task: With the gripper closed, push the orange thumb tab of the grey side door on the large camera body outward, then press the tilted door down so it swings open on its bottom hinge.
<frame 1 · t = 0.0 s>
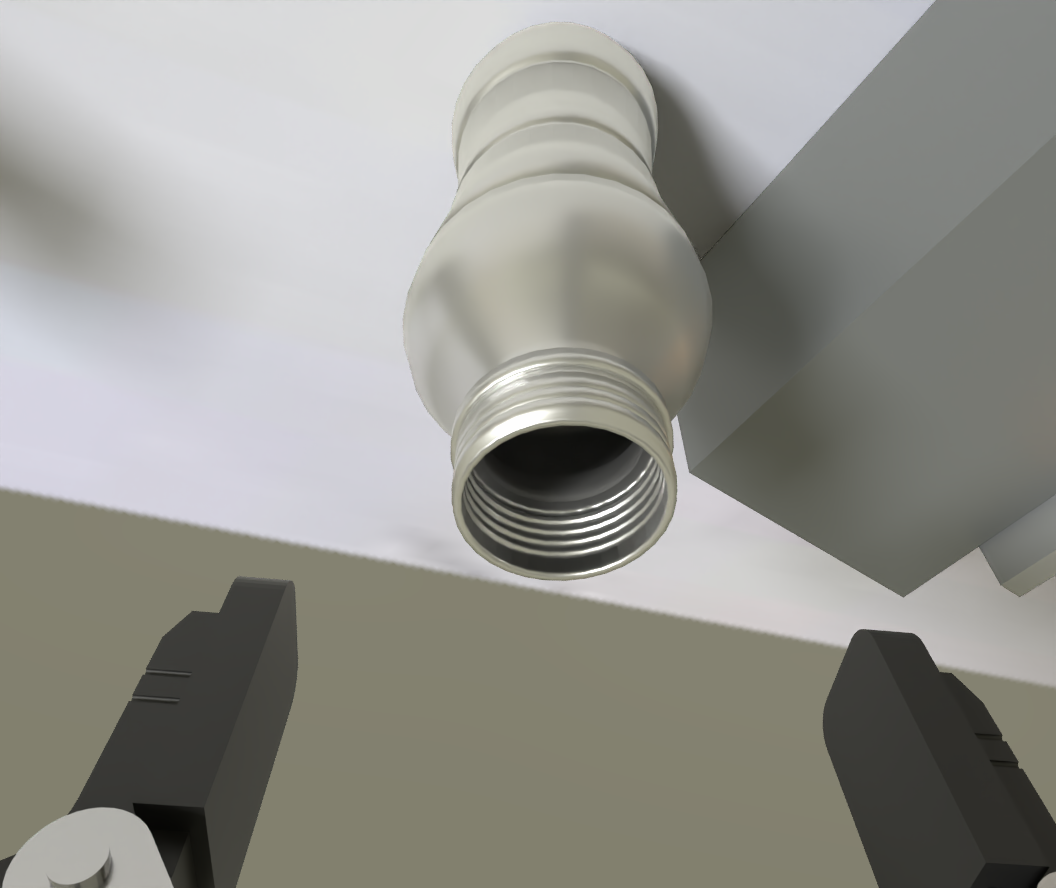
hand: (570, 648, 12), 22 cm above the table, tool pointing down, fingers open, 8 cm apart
camera body: (940, 182, 31), on the table
plastic bottle: (552, 108, 29), on the table
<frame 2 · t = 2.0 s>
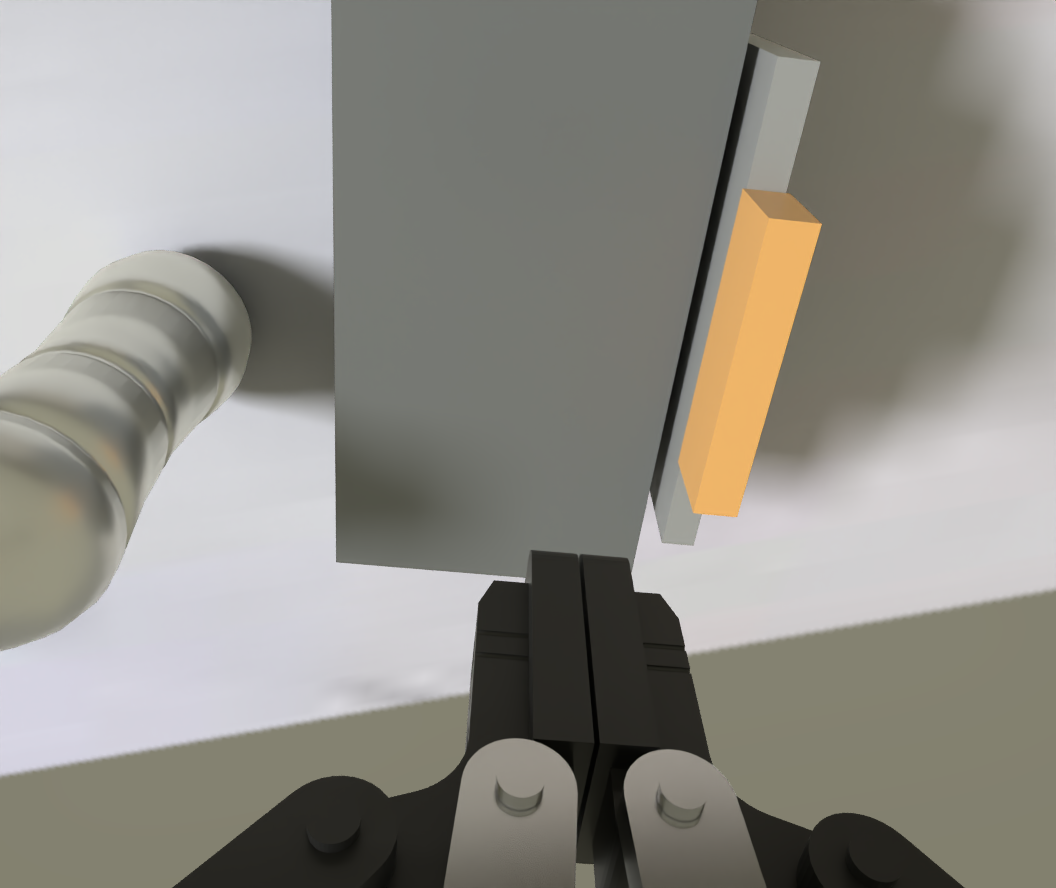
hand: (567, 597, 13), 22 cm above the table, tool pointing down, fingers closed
camera body: (515, 203, 32), on the table
side door: (702, 287, 26), point 7 cm above the table, hinge at 0.0°
plastic bottle: (186, 313, 35), on the table
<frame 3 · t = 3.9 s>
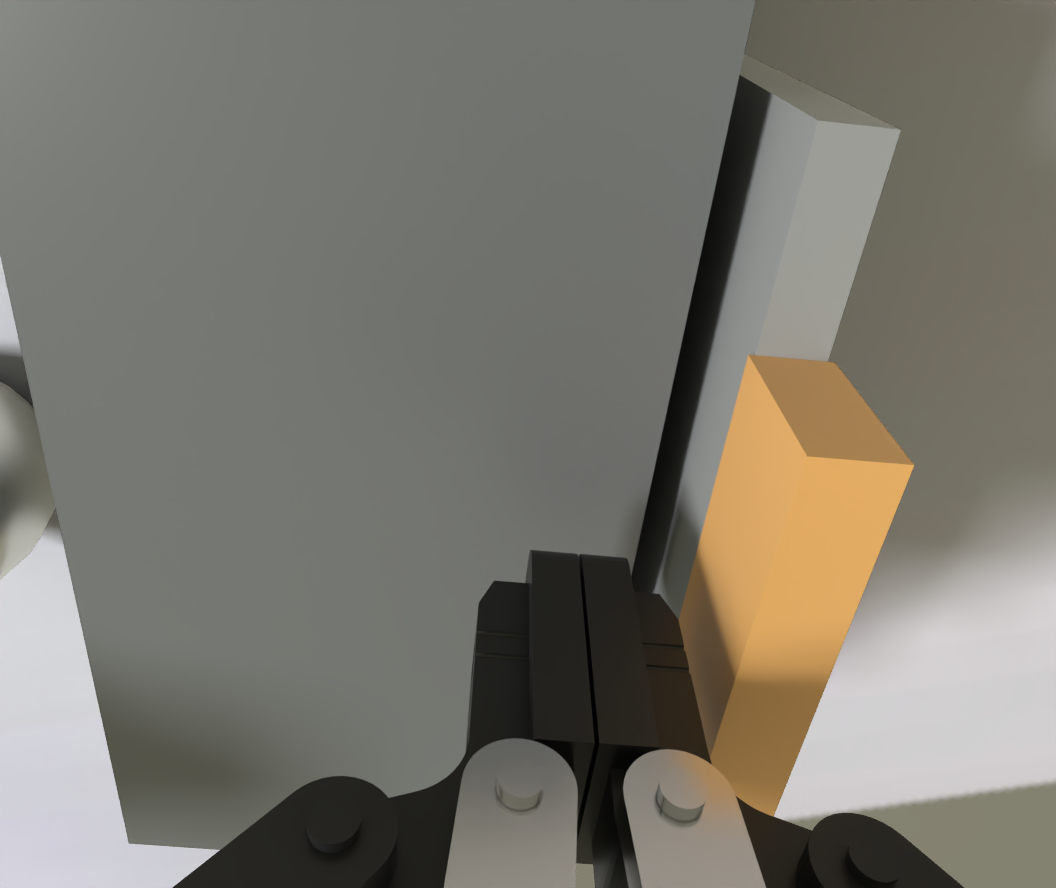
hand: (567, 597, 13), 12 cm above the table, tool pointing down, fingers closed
camera body: (419, 291, 23), on the table
side door: (680, 454, 17), point 7 cm above the table, hinge at 1.6°, touching gripper
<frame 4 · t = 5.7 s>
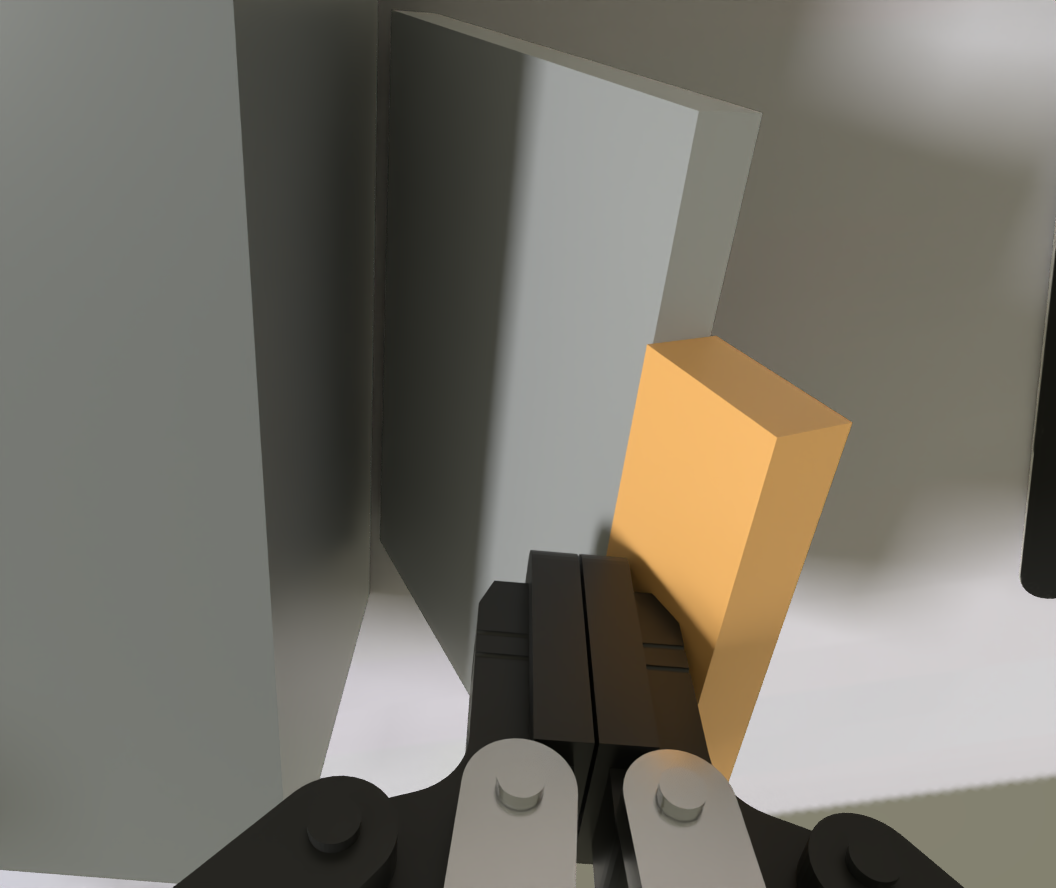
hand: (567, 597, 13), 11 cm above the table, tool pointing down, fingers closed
camera body: (181, 281, 22), on the table
side door: (521, 444, 17), point 7 cm above the table, hinge at 28.6°, touching gripper
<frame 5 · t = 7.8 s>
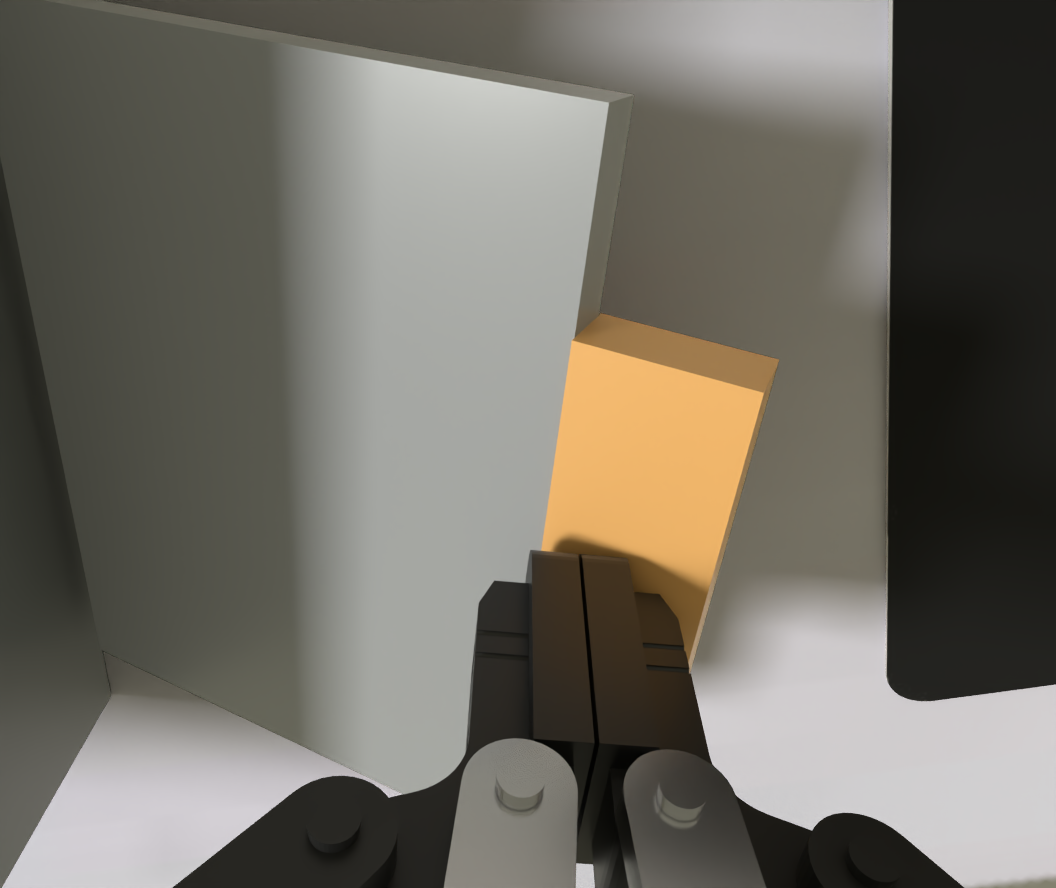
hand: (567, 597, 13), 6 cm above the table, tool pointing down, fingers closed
side door: (346, 478, 15), point 3 cm above the table, hinge at 66.9°, touching gripper
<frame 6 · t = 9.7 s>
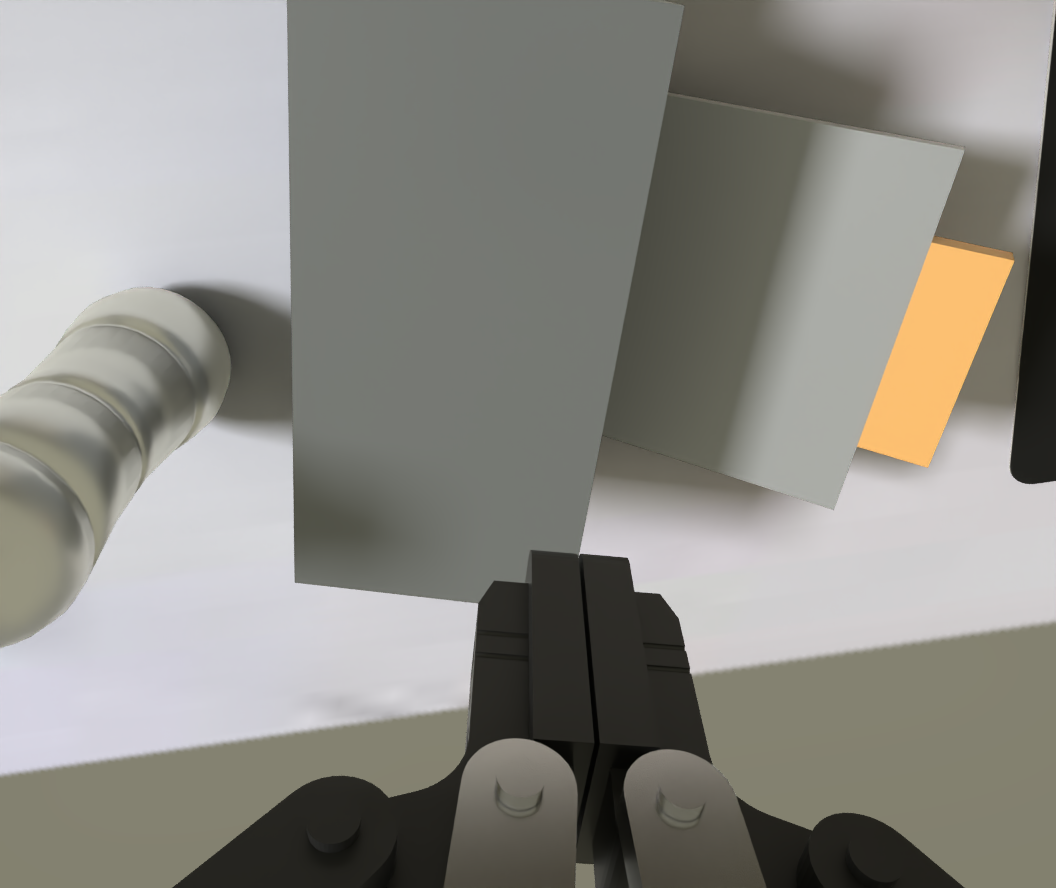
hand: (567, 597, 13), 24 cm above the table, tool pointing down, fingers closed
camera body: (478, 251, 35), on the table
side door: (784, 317, 32), point 3 cm above the table, hinge at 66.9°
plastic bottle: (173, 344, 37), on the table
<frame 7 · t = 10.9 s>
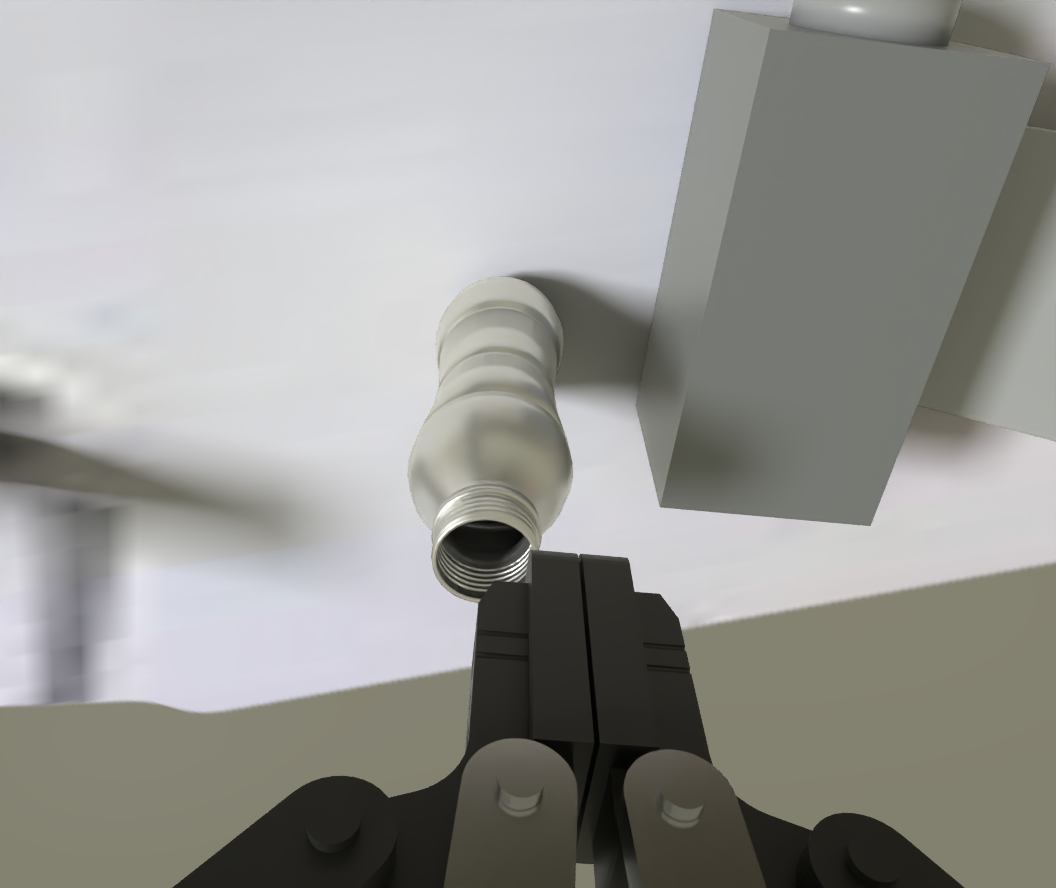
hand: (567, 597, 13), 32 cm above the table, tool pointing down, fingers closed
camera body: (767, 241, 43), on the table
side door: (1028, 289, 41), point 3 cm above the table, hinge at 66.9°
plastic bottle: (500, 323, 45), on the table
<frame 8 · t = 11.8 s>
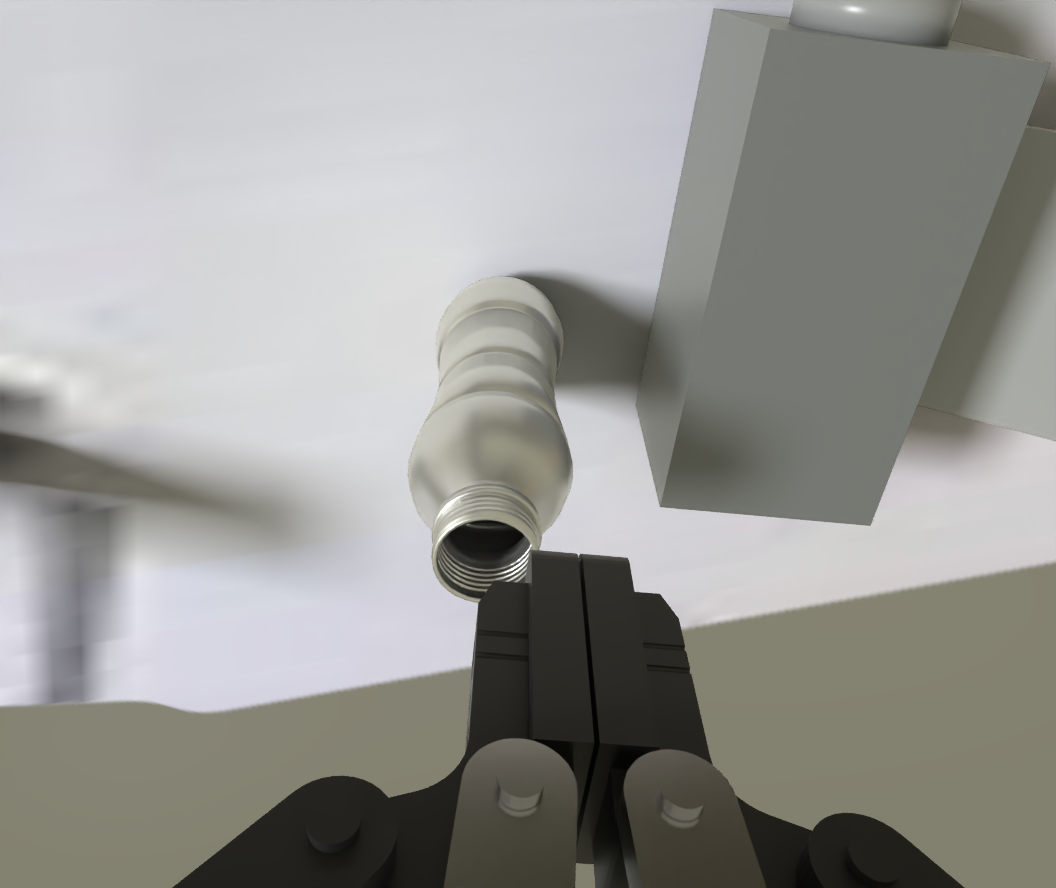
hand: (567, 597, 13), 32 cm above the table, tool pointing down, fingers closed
camera body: (767, 241, 43), on the table
side door: (1028, 288, 41), point 3 cm above the table, hinge at 66.9°
plastic bottle: (500, 323, 45), on the table
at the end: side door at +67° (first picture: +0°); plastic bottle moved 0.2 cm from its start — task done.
